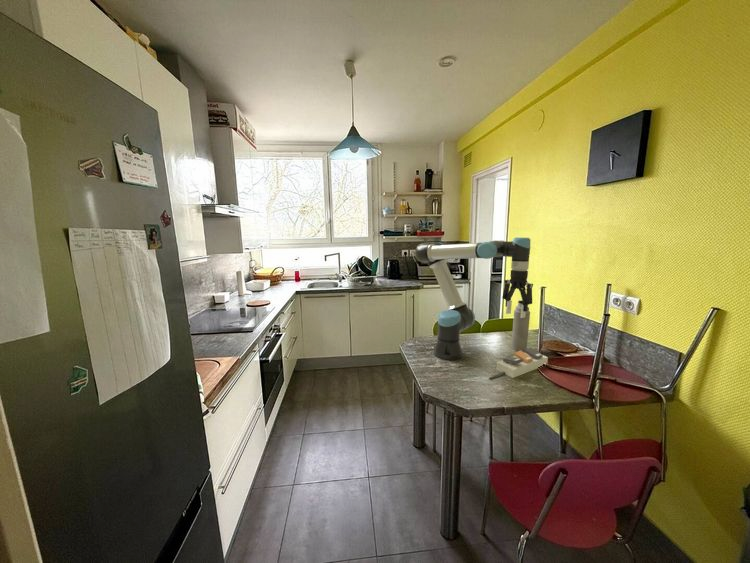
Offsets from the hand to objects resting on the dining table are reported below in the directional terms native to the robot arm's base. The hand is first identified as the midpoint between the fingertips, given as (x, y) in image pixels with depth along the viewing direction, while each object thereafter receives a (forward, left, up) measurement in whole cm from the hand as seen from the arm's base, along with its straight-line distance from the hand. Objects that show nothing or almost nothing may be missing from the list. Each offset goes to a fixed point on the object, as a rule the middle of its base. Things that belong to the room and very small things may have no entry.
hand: (515, 315), depth 146 cm
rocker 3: (+6, +8, -20) cm, 22 cm away
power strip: (+6, -5, -25) cm, 26 cm away
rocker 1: (+6, -8, -20) cm, 22 cm away
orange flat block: (+6, 0, -20) cm, 21 cm away
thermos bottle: (-9, +19, -25) cm, 33 cm away
